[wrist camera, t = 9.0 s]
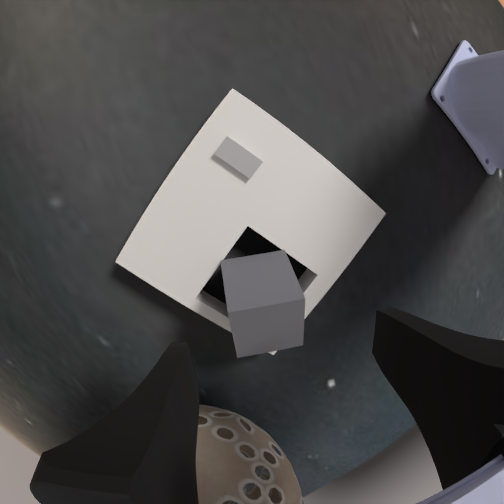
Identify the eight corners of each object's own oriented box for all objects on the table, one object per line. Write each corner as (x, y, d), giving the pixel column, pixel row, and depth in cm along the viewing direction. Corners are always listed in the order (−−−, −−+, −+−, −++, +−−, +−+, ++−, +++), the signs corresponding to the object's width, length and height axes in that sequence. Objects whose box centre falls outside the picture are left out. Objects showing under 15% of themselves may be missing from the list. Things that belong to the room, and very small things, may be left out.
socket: (373, 208, 20) (388, 214, 18) (269, 341, 22) (274, 357, 20) (230, 94, 17) (232, 87, 15) (123, 252, 19) (113, 263, 17)
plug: (281, 242, 19) (305, 298, 15) (283, 288, 21) (302, 345, 17) (219, 252, 19) (227, 312, 15) (227, 298, 21) (237, 357, 17)
